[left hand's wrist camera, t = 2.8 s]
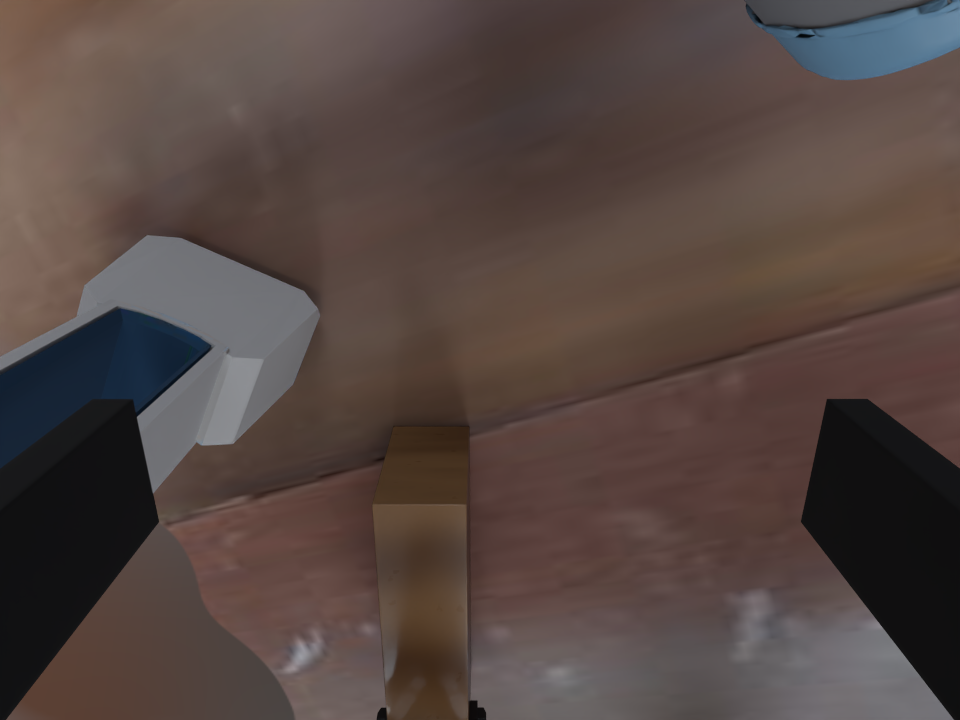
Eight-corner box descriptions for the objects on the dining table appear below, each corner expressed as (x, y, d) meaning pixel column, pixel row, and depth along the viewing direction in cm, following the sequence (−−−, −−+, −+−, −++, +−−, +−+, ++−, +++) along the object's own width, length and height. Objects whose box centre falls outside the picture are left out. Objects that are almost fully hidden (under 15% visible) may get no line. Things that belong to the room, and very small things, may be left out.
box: (393, 426, 52) (371, 504, 42) (469, 426, 52) (466, 504, 42) (406, 671, 62) (391, 784, 51) (471, 671, 62) (468, 784, 51)
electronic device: (138, 316, 49) (-324, 598, 21) (164, 224, 46) (-320, 405, 18) (296, 380, 51) (69, 719, 23) (329, 296, 48) (121, 558, 20)
